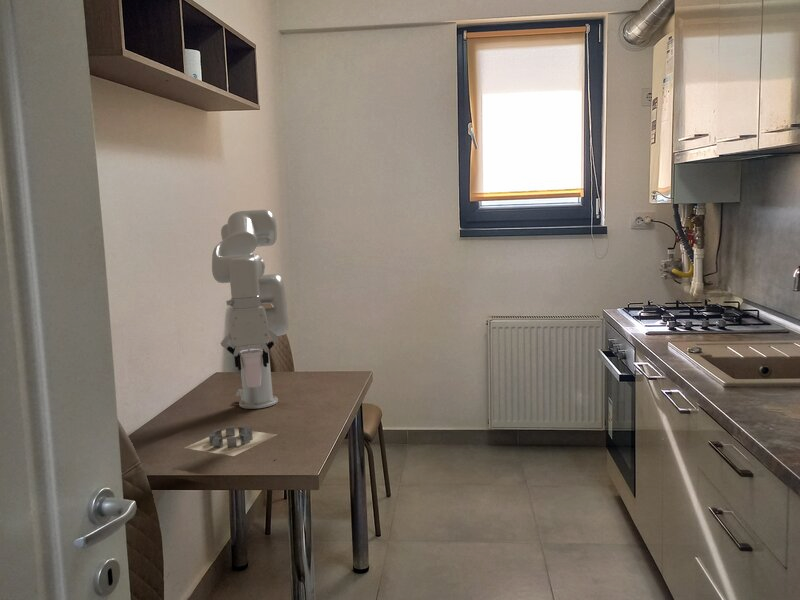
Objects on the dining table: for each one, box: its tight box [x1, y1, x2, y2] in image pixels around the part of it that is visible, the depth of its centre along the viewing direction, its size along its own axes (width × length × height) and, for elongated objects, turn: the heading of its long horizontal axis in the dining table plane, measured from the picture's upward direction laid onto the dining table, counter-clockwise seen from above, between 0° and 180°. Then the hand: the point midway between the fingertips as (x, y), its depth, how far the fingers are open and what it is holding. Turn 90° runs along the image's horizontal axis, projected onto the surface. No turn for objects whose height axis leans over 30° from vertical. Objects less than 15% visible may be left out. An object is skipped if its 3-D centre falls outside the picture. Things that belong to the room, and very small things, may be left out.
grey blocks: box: [208, 425, 253, 448], centre depth 205 cm, size 11×11×2 cm
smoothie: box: [239, 345, 263, 387], centre depth 204 cm, size 6×6×14 cm
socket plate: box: [184, 428, 278, 457], centre depth 205 cm, size 18×18×2 cm
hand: (252, 367), depth 204 cm, fingers closed on smoothie, 6 cm apart
